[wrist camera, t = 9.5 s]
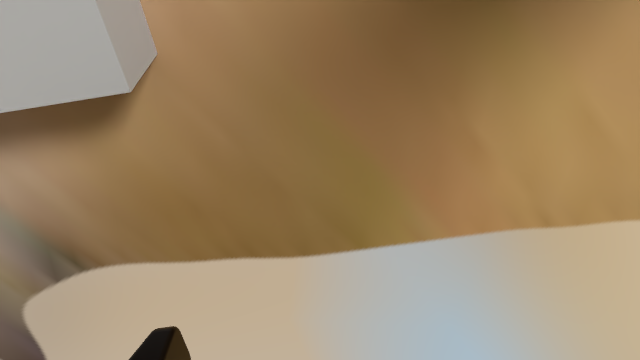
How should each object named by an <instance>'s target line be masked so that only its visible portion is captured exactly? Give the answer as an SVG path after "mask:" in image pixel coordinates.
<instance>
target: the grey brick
mask: <svg viewBox="0 0 640 360" xmlns="http://www.w3.org/2000/svg"><path fill="white" fill-rule="evenodd" d="M156 55H157V51H156V48H155V45H154V42H153V39H152V36H151V33H150V30H149V27H148V24H147V21H146V18H145V15H144V12H143V9H142V6H141V3H140V0H0V113H4V112H10V111H16V110H22V109H29V108H35V107H41V106H47V105H54V104H60V103H66V102H73V101H79V100H85V99H91V98H98V97H104V96H110V95H116V94H123V93H129V92H131V91H132V90H133V88H134V87H135V85H136V84H137V83H138V81H139V80H140V78H141V77H142V75H143V74H144V73H145V71H146V70H147V68H148V67H149V65H150V64H151V63H152V61H153V60H154V58H155V57H156Z"/></svg>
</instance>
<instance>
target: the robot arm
mask: <svg viewBox="0 0 640 360" xmlns="http://www.w3.org/2000/svg"><path fill="white" fill-rule="evenodd" d="M129 360H191V358H190V354H189V351H188V349H187V346H186V344H185V342H184V339H183V337H182V335H181V332H180V331H179V329H178V328H177V327H174V326H173V327H165V328H158V329H155V330H154V331H152V332H151V334H150V335H149V336H148V337H147V338H146V339H145V341H144V342H143V343H142V345H141V346H140V347H139V348H138V349H137V350H136V352H135V353H134V354H133V355H132V357H131V358H130V359H129Z"/></svg>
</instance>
